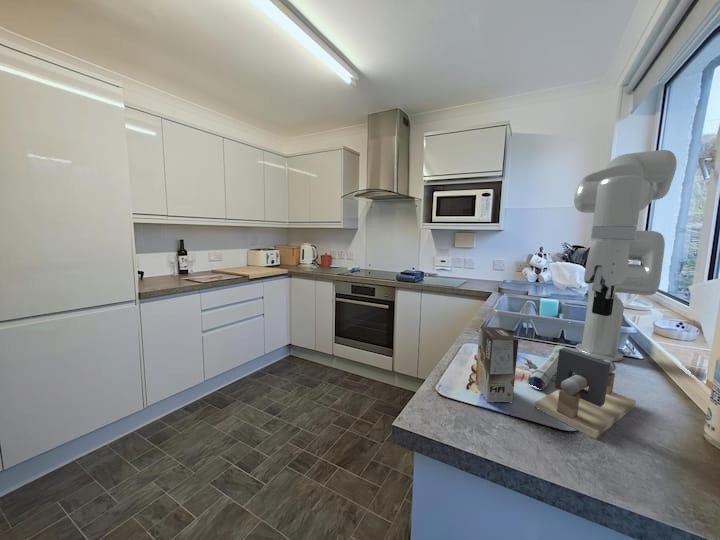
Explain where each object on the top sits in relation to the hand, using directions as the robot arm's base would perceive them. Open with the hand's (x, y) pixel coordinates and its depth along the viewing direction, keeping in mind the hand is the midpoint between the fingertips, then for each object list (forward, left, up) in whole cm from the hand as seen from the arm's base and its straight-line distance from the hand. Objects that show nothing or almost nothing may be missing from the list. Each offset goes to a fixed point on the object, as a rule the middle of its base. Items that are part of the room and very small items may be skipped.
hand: (601, 314), depth 68 cm
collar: (+7, 0, -18) cm, 19 cm away
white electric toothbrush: (-8, -12, -23) cm, 27 cm away
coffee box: (+16, -15, -23) cm, 32 cm away
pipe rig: (+2, 0, -23) cm, 23 cm away
